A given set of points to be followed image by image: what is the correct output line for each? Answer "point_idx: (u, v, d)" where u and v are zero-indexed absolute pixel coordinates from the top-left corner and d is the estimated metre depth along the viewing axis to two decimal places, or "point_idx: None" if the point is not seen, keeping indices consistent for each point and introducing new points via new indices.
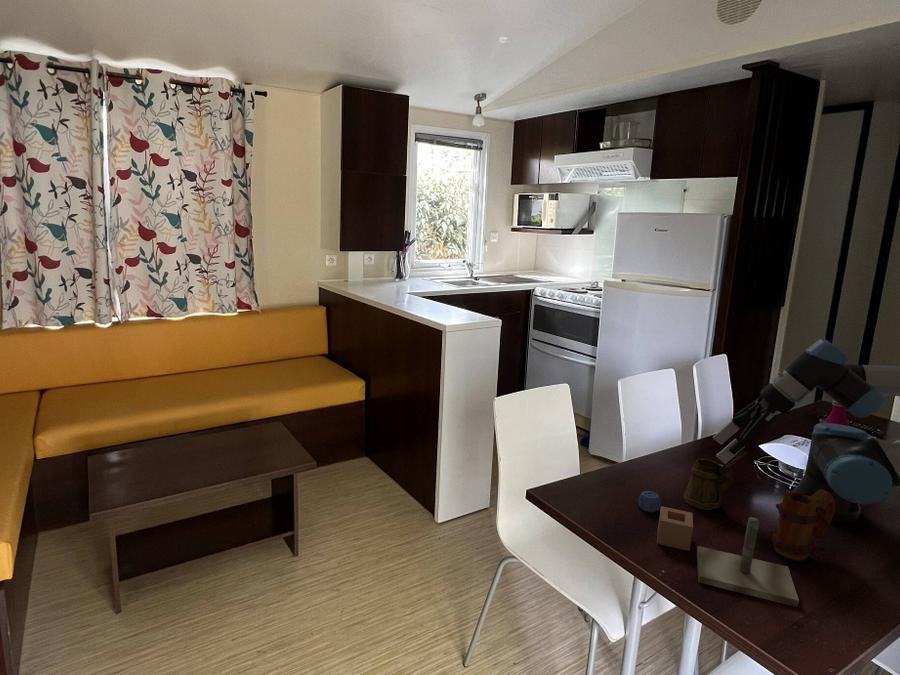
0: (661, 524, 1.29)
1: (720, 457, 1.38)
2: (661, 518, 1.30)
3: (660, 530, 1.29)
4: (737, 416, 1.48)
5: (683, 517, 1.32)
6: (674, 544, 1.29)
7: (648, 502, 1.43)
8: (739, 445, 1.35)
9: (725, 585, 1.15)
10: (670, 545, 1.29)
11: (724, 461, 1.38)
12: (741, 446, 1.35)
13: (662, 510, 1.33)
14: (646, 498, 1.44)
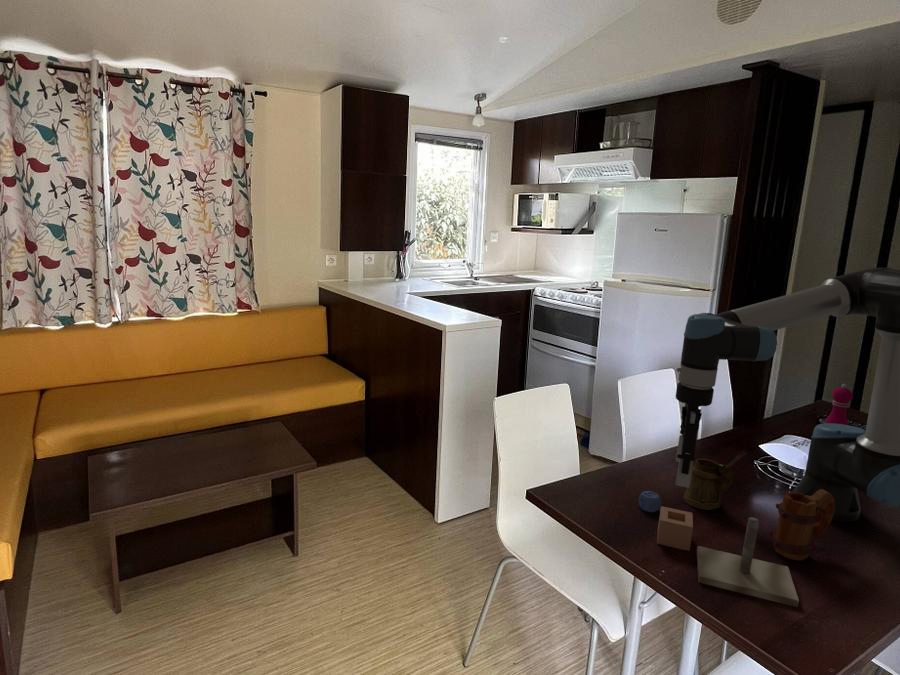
0: (661, 524, 1.29)
1: (680, 483, 1.22)
2: (661, 518, 1.30)
3: (660, 530, 1.29)
4: (681, 427, 1.34)
5: (683, 517, 1.32)
6: (674, 544, 1.29)
7: (648, 502, 1.43)
8: (685, 462, 1.20)
9: (725, 585, 1.15)
10: (670, 545, 1.29)
11: (686, 485, 1.22)
12: (688, 462, 1.20)
13: (662, 510, 1.33)
14: (646, 498, 1.44)
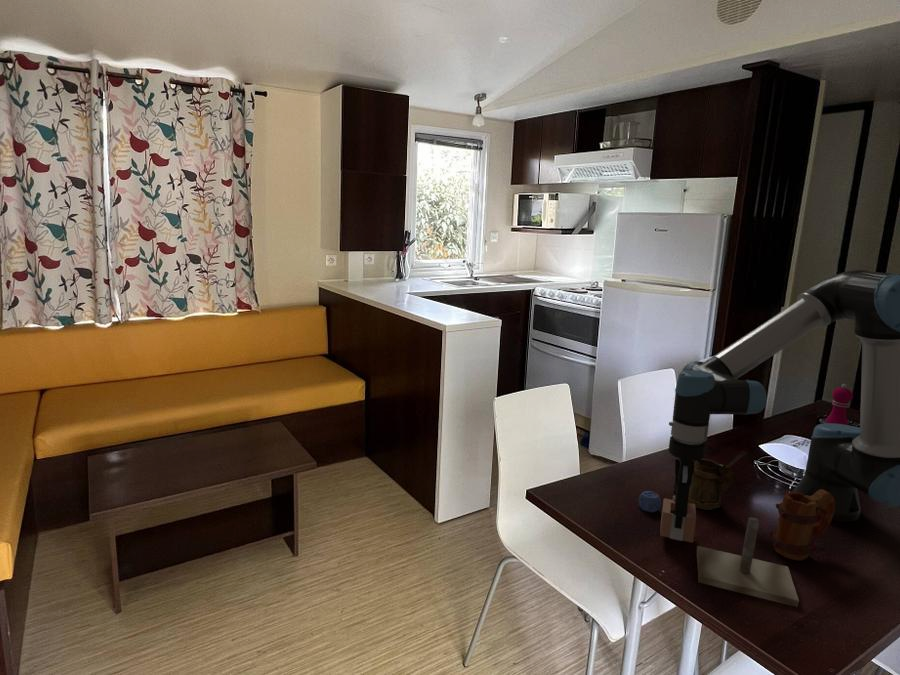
0: (664, 516, 1.29)
1: (673, 537, 1.28)
2: (664, 510, 1.29)
3: (663, 522, 1.29)
4: None
5: None
6: None
7: (648, 502, 1.43)
8: (678, 518, 1.26)
9: (725, 585, 1.15)
10: None
11: (679, 538, 1.28)
12: (680, 518, 1.25)
13: (665, 502, 1.33)
14: (646, 498, 1.44)
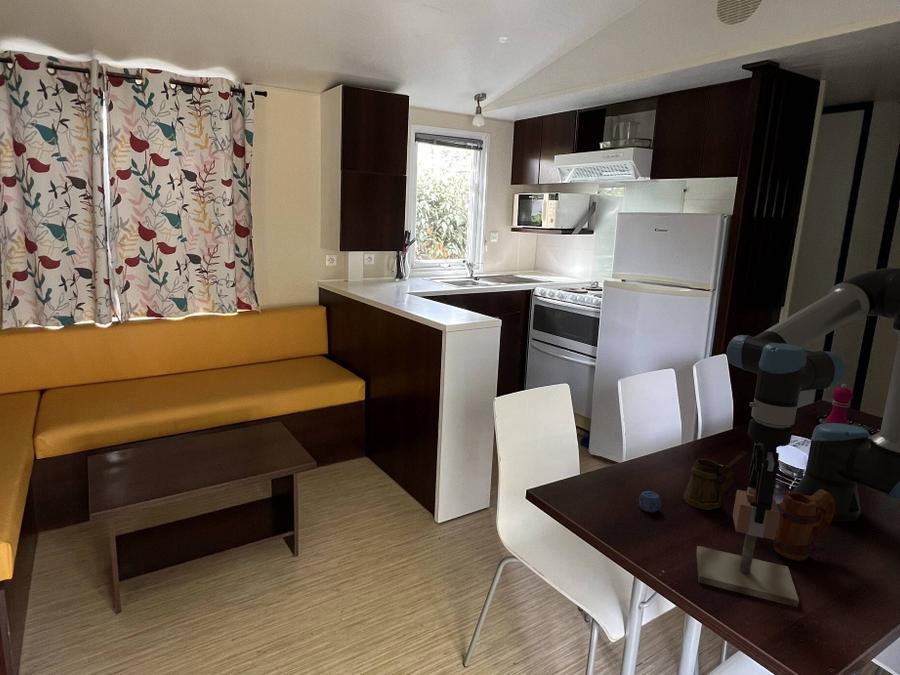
0: (741, 509, 1.13)
1: (752, 533, 1.13)
2: (741, 502, 1.14)
3: (740, 516, 1.14)
4: (750, 477, 1.19)
5: None
6: None
7: (648, 502, 1.43)
8: (760, 511, 1.10)
9: (725, 585, 1.15)
10: None
11: (759, 535, 1.12)
12: (763, 511, 1.10)
13: (740, 494, 1.18)
14: (646, 498, 1.44)
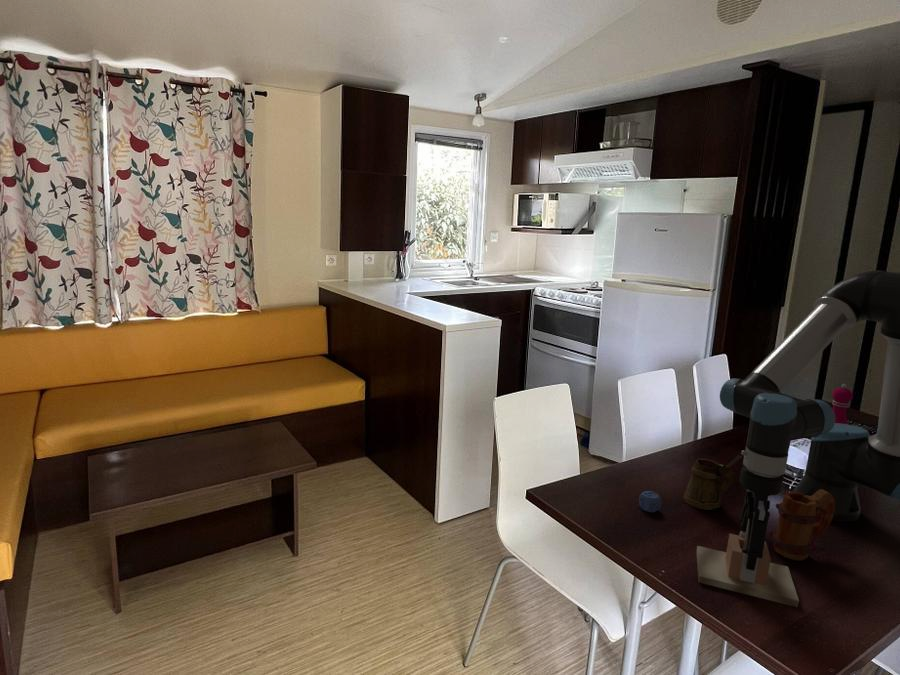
0: (733, 555, 1.16)
1: (744, 579, 1.15)
2: (733, 548, 1.16)
3: (732, 562, 1.16)
4: (742, 521, 1.21)
5: None
6: None
7: (648, 502, 1.43)
8: (752, 558, 1.13)
9: (725, 585, 1.15)
10: None
11: (751, 581, 1.15)
12: (754, 558, 1.12)
13: (732, 538, 1.20)
14: (646, 498, 1.44)
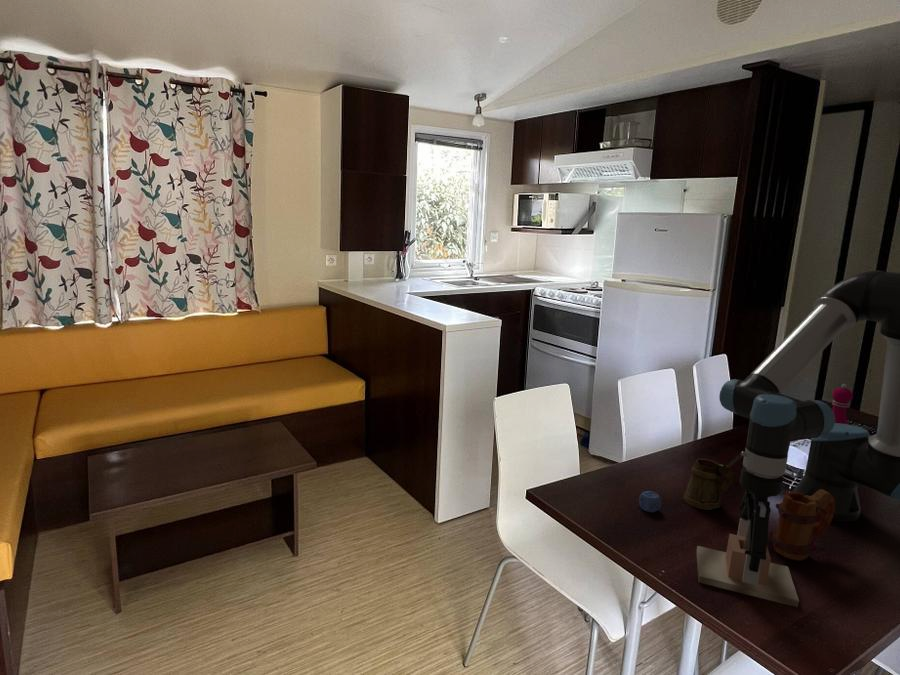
0: (733, 555, 1.16)
1: (747, 580, 1.12)
2: (733, 548, 1.16)
3: (732, 562, 1.16)
4: (742, 510, 1.23)
5: None
6: None
7: (648, 502, 1.43)
8: (755, 559, 1.10)
9: (725, 585, 1.15)
10: None
11: (754, 583, 1.12)
12: (757, 560, 1.09)
13: (732, 538, 1.20)
14: (646, 498, 1.44)
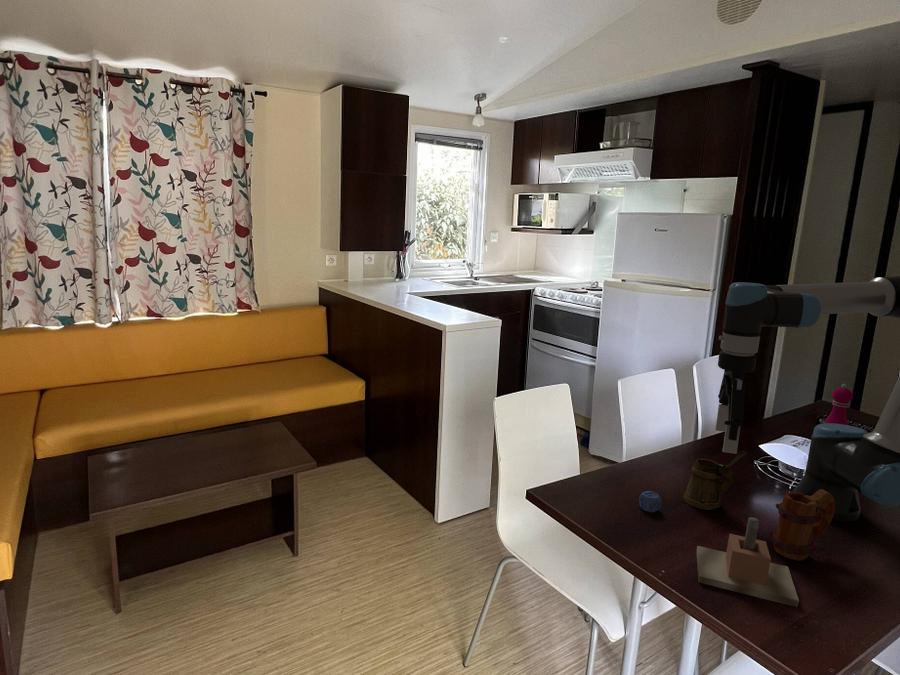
0: (733, 555, 1.16)
1: (727, 450, 1.24)
2: (733, 548, 1.16)
3: (732, 562, 1.16)
4: (720, 396, 1.35)
5: (756, 546, 1.19)
6: (748, 577, 1.15)
7: (648, 502, 1.43)
8: (733, 428, 1.21)
9: (725, 585, 1.15)
10: (743, 578, 1.16)
11: (733, 451, 1.23)
12: (736, 428, 1.21)
13: (732, 538, 1.20)
14: (646, 498, 1.44)
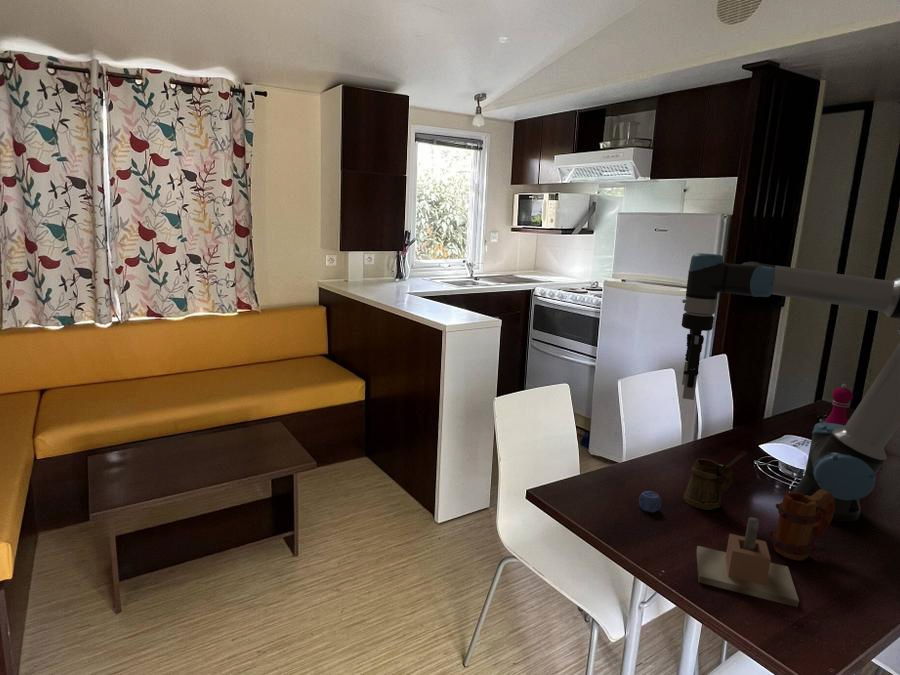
0: (733, 555, 1.16)
1: (686, 397, 1.44)
2: (733, 548, 1.16)
3: (732, 562, 1.16)
4: (686, 354, 1.55)
5: (756, 546, 1.19)
6: (748, 577, 1.15)
7: (648, 502, 1.43)
8: (691, 377, 1.42)
9: (725, 585, 1.15)
10: (743, 578, 1.16)
11: (691, 398, 1.44)
12: (693, 377, 1.42)
13: (732, 538, 1.20)
14: (646, 498, 1.44)
